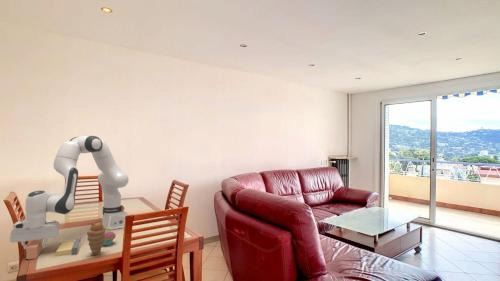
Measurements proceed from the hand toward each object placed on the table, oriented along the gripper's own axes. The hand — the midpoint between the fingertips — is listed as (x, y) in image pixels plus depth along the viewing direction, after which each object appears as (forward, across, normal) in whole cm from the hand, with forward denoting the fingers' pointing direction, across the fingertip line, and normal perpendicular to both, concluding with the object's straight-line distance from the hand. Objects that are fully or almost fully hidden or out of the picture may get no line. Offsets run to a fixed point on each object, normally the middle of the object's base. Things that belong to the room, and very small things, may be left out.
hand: (34, 247), depth 141 cm
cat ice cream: (+4, -29, +11) cm, 32 cm away
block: (+4, 0, 0) cm, 4 cm away
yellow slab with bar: (+4, -15, 0) cm, 16 cm away
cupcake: (+4, -34, -2) cm, 35 cm away
